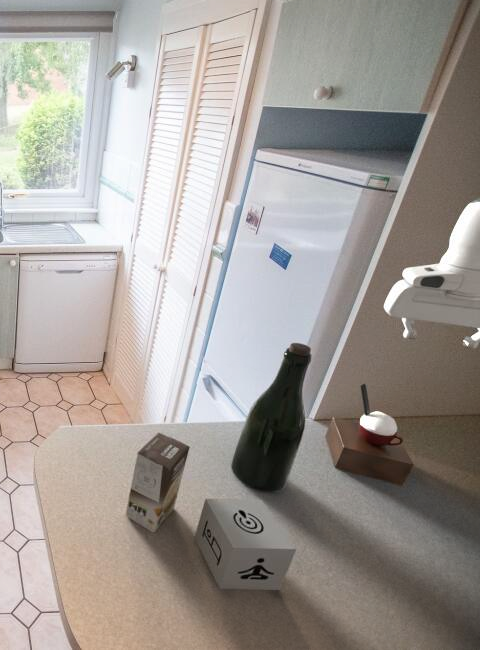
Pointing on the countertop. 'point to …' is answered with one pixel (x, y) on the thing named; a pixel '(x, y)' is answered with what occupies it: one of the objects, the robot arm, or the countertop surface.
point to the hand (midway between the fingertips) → (438, 341)
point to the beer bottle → (274, 426)
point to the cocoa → (376, 425)
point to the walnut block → (366, 454)
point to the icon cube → (243, 544)
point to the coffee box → (156, 481)
